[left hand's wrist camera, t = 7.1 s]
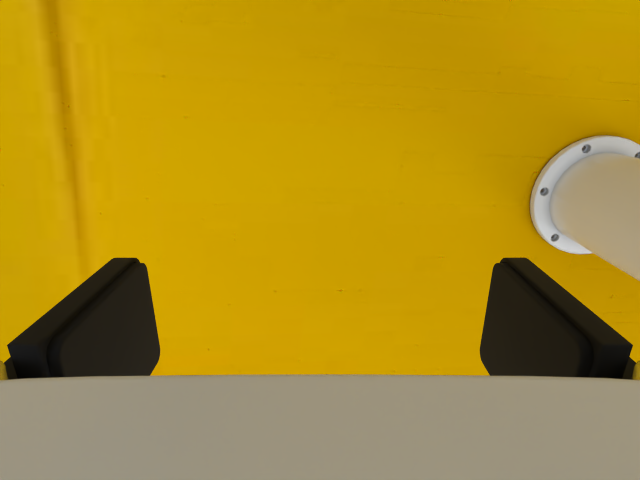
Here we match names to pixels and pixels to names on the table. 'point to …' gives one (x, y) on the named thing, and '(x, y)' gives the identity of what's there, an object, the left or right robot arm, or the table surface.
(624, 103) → the table surface
